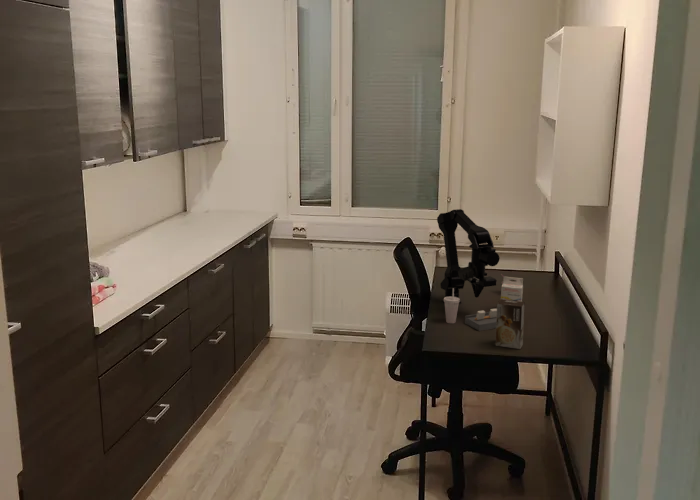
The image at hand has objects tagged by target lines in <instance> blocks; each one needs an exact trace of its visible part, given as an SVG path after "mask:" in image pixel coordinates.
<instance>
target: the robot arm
mask: <svg viewBox="0 0 700 500" xmlns="http://www.w3.org/2000/svg"><path fill="white" fill-rule="evenodd" d="M436 222H437V225H438V229H439V230H440V231H441V233H442V234H443V241H444V250H445V259H446V269H445V272H444V278H443V280H442V281H441V282H440V288H441V289H442V290H444V298H445V297H449V296H452V294H453V288H454V297H458V298H459V299H460V294H459V293H460V290H463V289H464V286H465V283H466V282H469V283H470V284H471V286H472V290H473V291H472V292H473V294H474V298H479V296H480V295H481V294H482V291H483V290H484V288H486V287H494V286H497V285H498V284H497V283H498V280H497V279H496V278H494V277H493V276H491V275H490V276H488V273H487V272H486V267H488V266H489V267H495V266H497V265H498V264H499V263H500V259H501V258H500V256H499V253H497V252H496V249H495V248H494V247H495V246H494V242H493V240H492V237H491V234H490V231H488V229H486V228H485V227H483V226H481V225H480V226H479V225H477V224H476V223H475V222H474V221H473V220H472V219H471V218H470V217H469V216H468V215H467V214H466V213H465V211H464V210H463V209H462V208H461V209H460V208H459V209H458V208H457V209H452V210H450V211H447V212H441V213H439V215H438V216H437V218H436ZM458 226H460V227H461V229H463V231H465V232H466V234H467V239H468V240H469V242H470V243H471V244H470V245H469V248H471V257H470V258H471V259H470V260H471V261H469V262H468V265H467V266H465V267H463V268H461V266H460V265H459V255H458V246H457V240H456V230H457V228H458ZM444 298H443V299H441V302H443V303H445V302H444ZM459 304H462V300H460V302H459Z"/></svg>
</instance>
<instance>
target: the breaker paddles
mask: <svg viewBox="0 0 700 500" xmlns="http://www.w3.org/2000/svg"><path fill="white" fill-rule="evenodd" d="M485 312H486V311H485V310H483V309H482V310H478V311H476V314H477V315H476V318H475V320H481V319H487V318H493V317H497V308H490V310H489V311H488V312H489V316H485ZM484 316H485V317H484Z"/></svg>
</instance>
